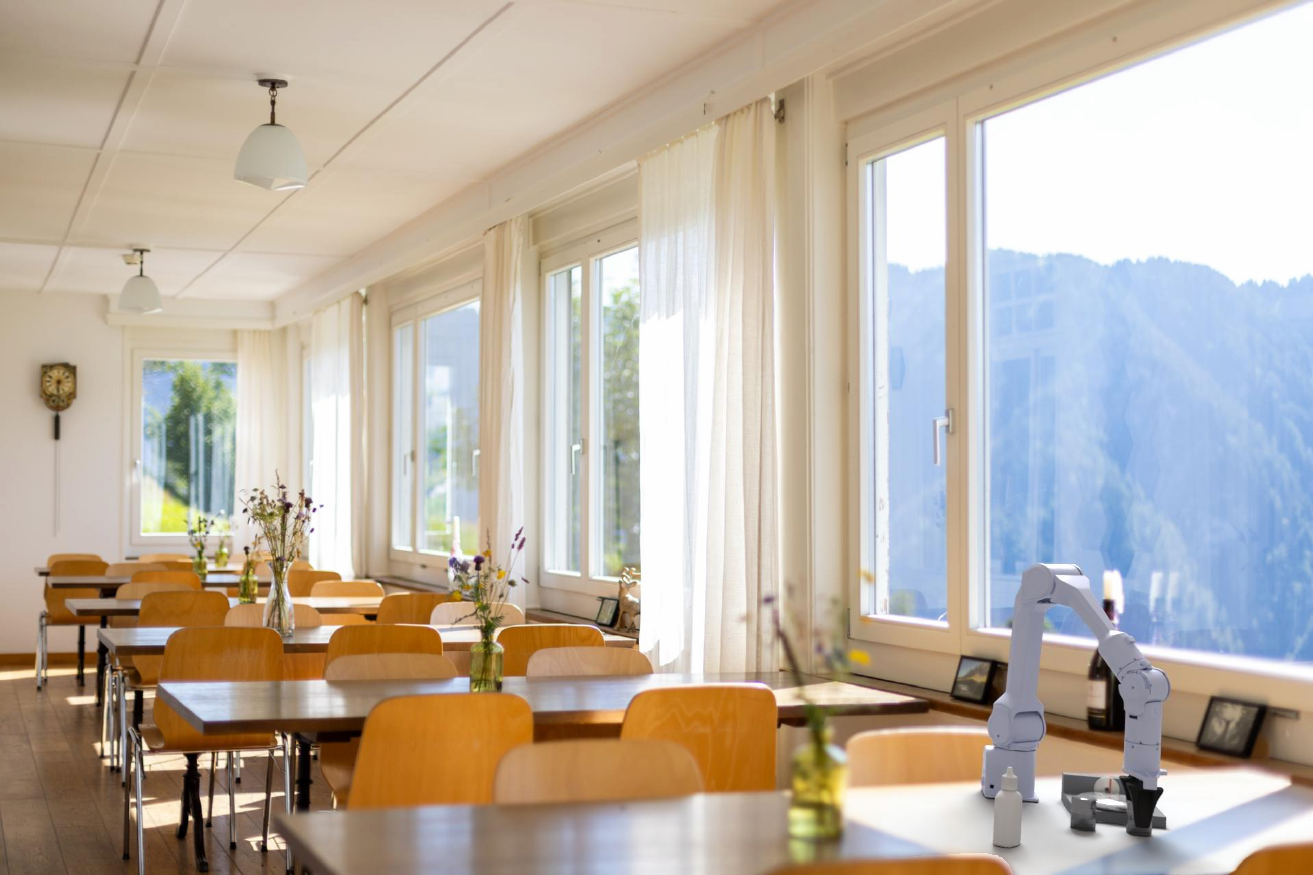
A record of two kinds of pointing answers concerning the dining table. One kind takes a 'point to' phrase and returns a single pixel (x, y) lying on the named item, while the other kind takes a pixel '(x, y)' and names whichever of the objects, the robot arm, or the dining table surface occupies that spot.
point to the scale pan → (1109, 801)
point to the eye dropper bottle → (1007, 812)
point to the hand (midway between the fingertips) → (1139, 823)
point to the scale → (1101, 783)
